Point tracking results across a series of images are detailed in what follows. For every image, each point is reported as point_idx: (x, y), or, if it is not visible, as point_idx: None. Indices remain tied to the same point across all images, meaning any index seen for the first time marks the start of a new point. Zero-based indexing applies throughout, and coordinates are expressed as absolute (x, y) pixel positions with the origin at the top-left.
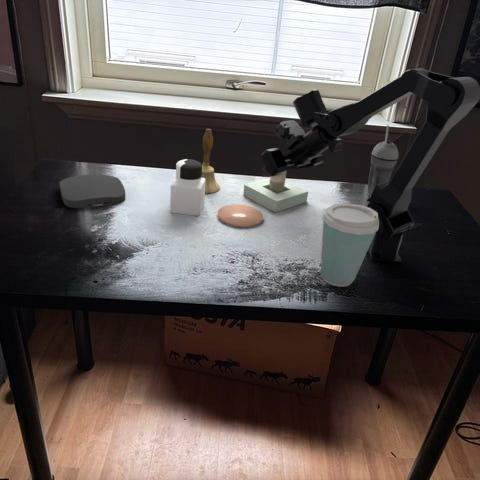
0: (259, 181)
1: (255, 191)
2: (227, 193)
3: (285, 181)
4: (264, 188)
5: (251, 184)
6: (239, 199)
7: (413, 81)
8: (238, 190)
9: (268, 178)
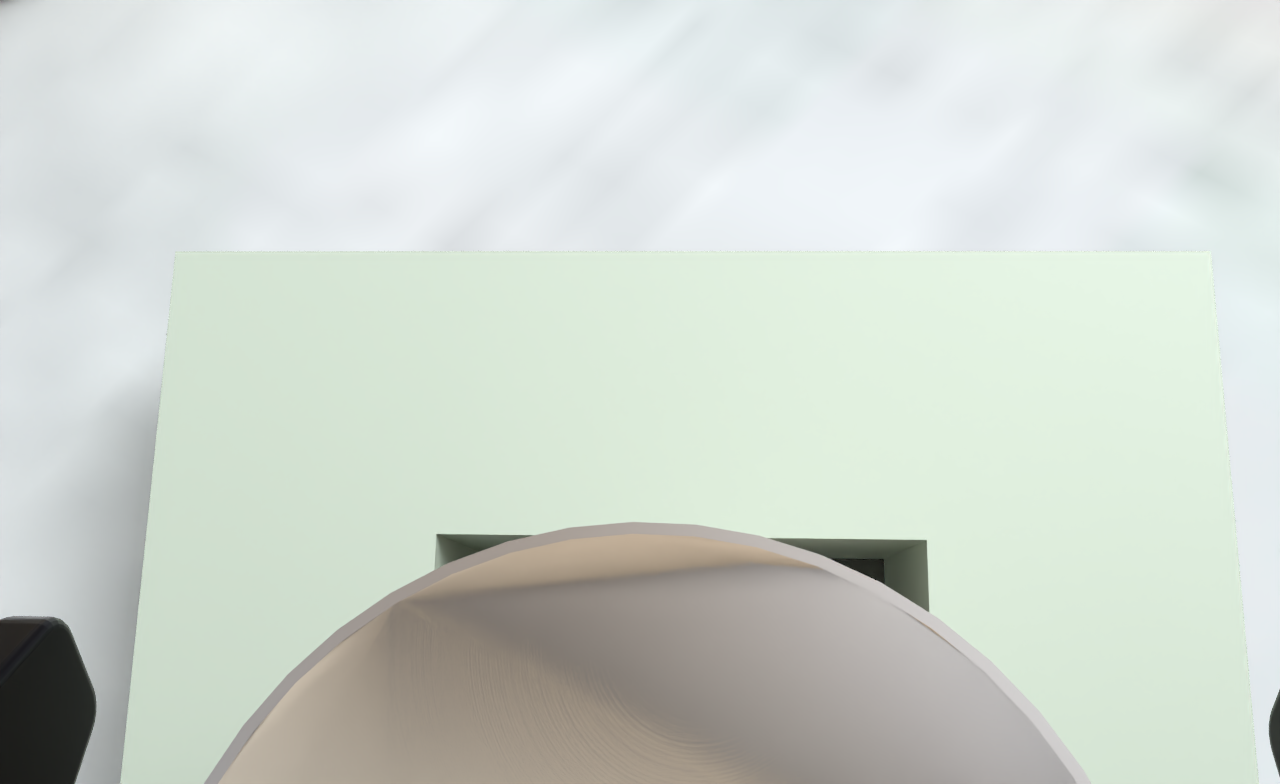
0: (600, 293)
1: (153, 623)
2: (84, 134)
3: (1195, 619)
4: None
5: (306, 332)
6: (67, 429)
7: None
8: (342, 131)
9: (927, 266)
